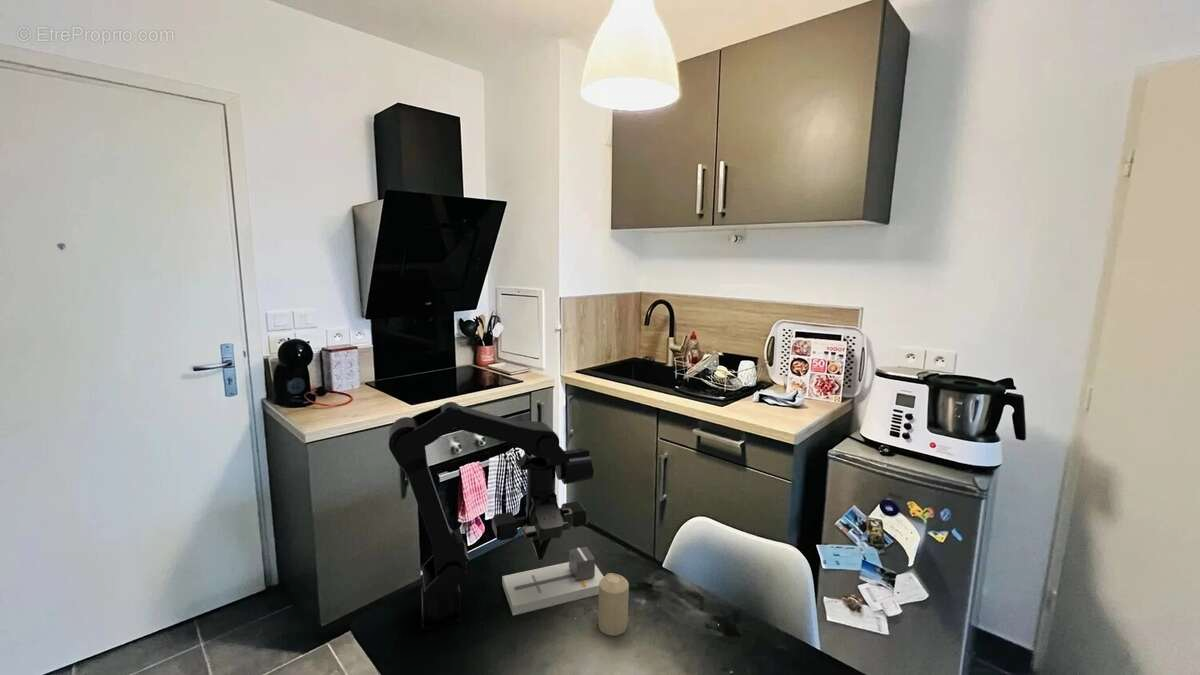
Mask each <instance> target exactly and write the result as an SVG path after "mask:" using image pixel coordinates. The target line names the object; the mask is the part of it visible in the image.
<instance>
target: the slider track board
mask: <svg viewBox="0 0 1200 675" xmlns="http://www.w3.org/2000/svg"><path fill="white" fill-rule="evenodd" d="M604 576H605V575H603V574H602V571H600V569H599V568H598V566H597V564H595V577H591V578H587V579H582V580H578V581H577V580H576V579H575V577H574V575H573V573H572V572H571V570H570V568H569V561H567V562H563V563H557V564H553V565H549V566H543V567H539V568H535V569H530V570H529V569H528V570H525V571H521V572H515V573H512V574H507V575H502V576H501V577H502V580H501V582H502V588H503V591H504V594H505V596H506V600H507V602H508V605H509V608H510V611H511V613H512V614H511V615H512V616H516V615H522V614H525V613H528V612H533V611H537V610H541V609H545V608H550V607H553V606H557V605H561V604H565V603H569V602H573V601H577V600H581V599H586V598H590V597H593V596H594V597H595V596H599V582H600V580H601V579H602V578H603V577H604Z"/></svg>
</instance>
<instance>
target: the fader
mask: <svg viewBox="0 0 1200 675" xmlns="http://www.w3.org/2000/svg"><path fill="white" fill-rule="evenodd" d="M568 552H569V553H568V562H569V568H570V570H571V572H572V573H573V575H574V577H575V579H576V580H577V581H578V580H582V579H587V578H591V577H595V565H596V557H595V556H594V555H593V554H592V552H591V551H590V550H589V548H588V547H587V546H584V547H583V546H582V547H576V548H573V549H569V551H568Z"/></svg>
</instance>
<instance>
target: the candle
mask: <svg viewBox="0 0 1200 675" xmlns="http://www.w3.org/2000/svg"><path fill="white" fill-rule="evenodd" d="M603 576H604V577H603V578H602V579H601V580H600V582H599V594H598V614H597V615H598V617H597V618H598V619H597V620H598V621H597V622H598V623H597V625H598V628H599V631H600V632H601V633H603V634H604V635H607V636H610V637H617V636H621V635H623V634H624V633H625V632H626V631H627V628H628V620H629V594H630V593H629V590H630V585H629V584H630V583H629V581H628V580H627V579H626V578H625V577H624V576H622V575H620V574H617V573H613V572H611V573H610V572H608V573H607V574H605V575H603Z"/></svg>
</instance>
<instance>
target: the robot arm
mask: <svg viewBox="0 0 1200 675" xmlns="http://www.w3.org/2000/svg"><path fill="white" fill-rule="evenodd" d="M454 429H456V430H457V429H458V430H460V431H463V432H467V433H472V434H474V435H478V436H479V435H480V436H483V437H486V438H490V439H494V440H498V441H501V442H505V443H509V444H511V445H513V446H516V447H517V448H519V449H521V450H522V451H524V452H525V453H524V454H523V455H522V457H520V458H519V459H518V460H517V461H516V464H517V466H518V468H519V469H520V471H526V486H525V493H526V506H525V512H526V513H525V514H526V515H525V516H520V517H519V516H518V517H515V516H514V514H513V512H512V511H508V512H503V513H496V514H494V516H493V517H492V518H491V527H492V528H491V529H492V531H493V533H494V535H495V538H496V540H497V541H505V540H511V539H514V538H515V537H516V536H517V535H518V534H519V533H518V529H521V532H522V533H523V535H524V538H525V539H530V540H531V543H532V546H533V549H534V552H535V555H536V558H537V560H538V561H541V560H543V559H544V556H545V554H546V551H547V549H548V546H549V544H550V542H551V541H552V539H560V538H561V537H562V536H563V532H564V531H566V530H567V531H568V530H570V528H571V527H573V528H577V527H583V526H587V525H588V524H589V516H588V515H589V514H588V512H587V510H586V509H585V508H584V506H583V505H582V504H581V503H580V502H579V501H578V500H577V501H572V502H564V503H562V504H561V507H559V504H558V497H557V494H556V478H557V480H559V481H561V482H562V484H563V485H568V484H576V483H581V482H590V481H592V480H593V479H594V467H593V462H592V458H591V456H590V450H589V449H588V448H587V447H580V448H576V449H567V450H564V449H563V448H562V447H561V446H560V438H559V436H558V434H557V433H556V432H555V431H554V430H553V429H552V428H551V427H550V426H549V425H548V424H547V423H544V422H543V421H542V422H541V421H534V420H521V421H517V420H512V419H508V418H505V417H501V416H498V415H495V414H491V413H488V412H484V411H481V410H477V409H474V408H472V407H471V408H470V407H468V406H464V405H463V406H462V405H460V404H458V403H456V402H454V401H448V402H445V403H444V404H441V405H439V406H437V407H435V408H431V409H428V410H426V411H422V412H420V413H417V414H415V415H414V416H412V417H408V416H406V417H401V418H399V419H396V420H395V421H394V422H393V423H392V424H391V426H390V428H389V431H388V447H389V448H388V449H389V451H390V453H391V454H392V456H393V458H394V460H395V461H396V463H397V464H398V466H399V467H400V469H402V472H404V473H405V474H406V476H407V478H408V481H409V484H410V486H411V489H412V492H413V494H414V497H415V501H416V504H417V506H418V508H419V512H420V514H421V517H422V519H423V523H424V526H425V528H426V531H427V534H428V537H429V540H430V544H431V551H432V555H431V556H430V557H429V558H428V559H427V561H425V563H423V564H422V566H421V571H422V572H421V574H422V583H421V607H420V608H421V609H420V612H421V613H420V614H421V621H422V622H421V626H422V629H423V630H428V629H433V628H438V627H441V626H446V625H450V624H453V623H458V622H459V621H460V616H459V615H460V614H459V613H460V612H461V609H462V608H461V606H462V605H461V600H462V599H461V598H462V597H461V588H460V582H461V581H462V580H463V579H464V578H465V576H466V574H467V573H468V564H467V563H470V562H471V560H470V557H469V553H468V548H467V544H466V542H465V541H464V540H463V535H462V531H461V527H460V528H459V527H458V528H456V529H455V530H452V528H451V527H450V525H449V523H448V520H447V517H446V514H445V511H444V509H443V506H442V503H441V499H440V497H439V494H438V491H437V487H436V485H435V483H434V480H433V476H432V473H431V470H430V468H429V465H428V460H427V459H428V458H427V452H426V447H427V446H428V445H430V444H432V443H434V442H435V441H437V440H438V439H439V438H441V437H442V436H443V435H445V434H447V433H448V432H449V431H452V430H454ZM527 453H528V454H527ZM530 455H532V456H530Z"/></svg>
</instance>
